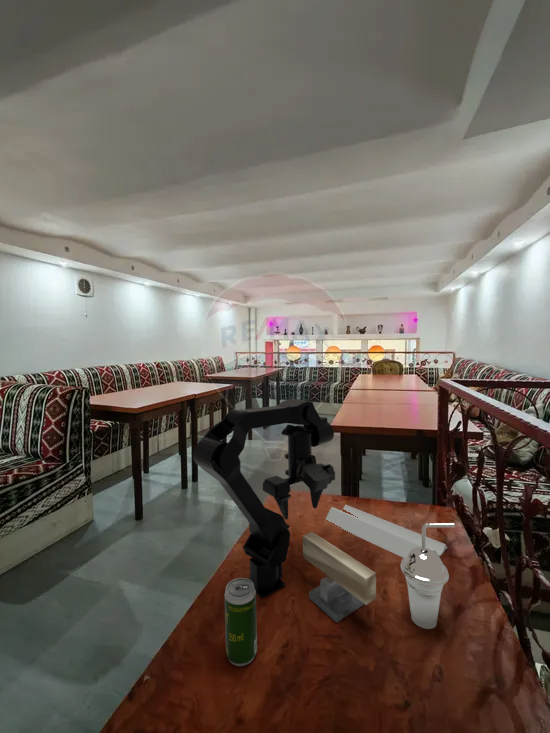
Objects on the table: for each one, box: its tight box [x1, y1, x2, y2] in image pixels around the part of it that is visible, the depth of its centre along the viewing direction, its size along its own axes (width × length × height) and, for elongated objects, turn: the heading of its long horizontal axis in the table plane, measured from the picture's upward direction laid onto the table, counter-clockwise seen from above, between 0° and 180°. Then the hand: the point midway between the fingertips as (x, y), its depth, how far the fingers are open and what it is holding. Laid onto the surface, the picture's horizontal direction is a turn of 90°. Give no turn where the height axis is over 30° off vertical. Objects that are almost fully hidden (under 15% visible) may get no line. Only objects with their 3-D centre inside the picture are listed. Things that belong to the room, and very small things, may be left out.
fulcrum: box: [308, 575, 365, 624], centre depth 72 cm, size 8×8×6 cm
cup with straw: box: [400, 522, 456, 630], centre depth 66 cm, size 8×9×20 cm
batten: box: [302, 531, 377, 606], centre depth 71 cm, size 3×18×5 cm, turn 35°
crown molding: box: [325, 504, 448, 559], centre depth 97 cm, size 31×12×4 cm, turn 42°
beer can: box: [223, 577, 258, 667], centre depth 60 cm, size 5×5×12 cm
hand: (300, 513), depth 85 cm, fingers open, 9 cm apart
